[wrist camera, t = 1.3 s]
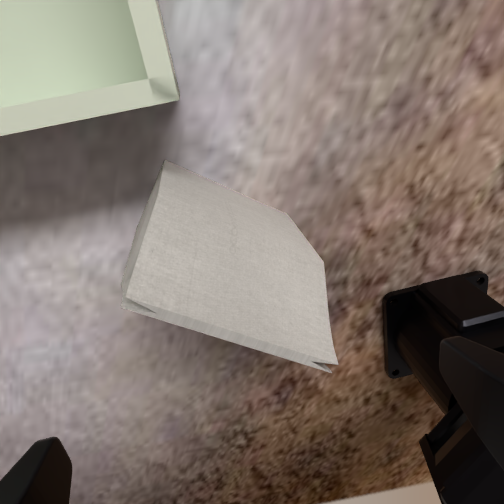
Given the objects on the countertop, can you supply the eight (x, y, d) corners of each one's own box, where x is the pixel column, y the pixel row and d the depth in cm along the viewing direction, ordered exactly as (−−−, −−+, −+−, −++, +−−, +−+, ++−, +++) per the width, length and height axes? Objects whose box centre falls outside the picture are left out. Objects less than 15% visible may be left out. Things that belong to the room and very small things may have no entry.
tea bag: (164, 159, 19) (149, 239, 10) (287, 213, 21) (367, 320, 12) (136, 227, 20) (100, 355, 11) (256, 272, 22) (308, 410, 13)
